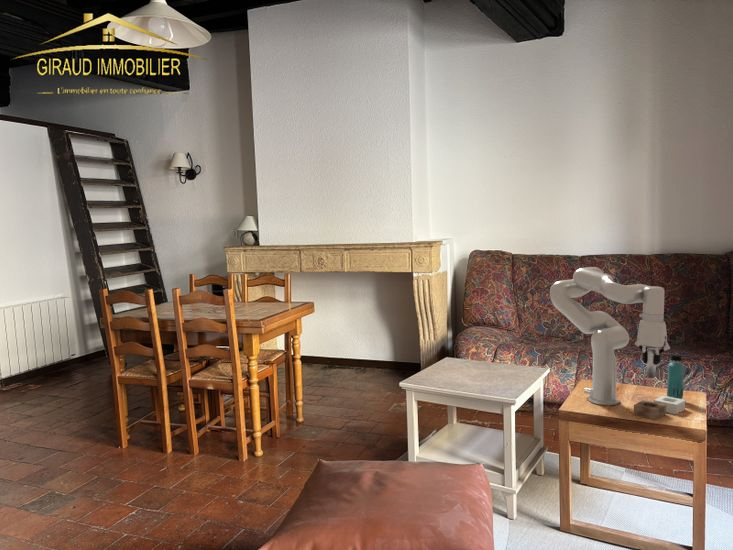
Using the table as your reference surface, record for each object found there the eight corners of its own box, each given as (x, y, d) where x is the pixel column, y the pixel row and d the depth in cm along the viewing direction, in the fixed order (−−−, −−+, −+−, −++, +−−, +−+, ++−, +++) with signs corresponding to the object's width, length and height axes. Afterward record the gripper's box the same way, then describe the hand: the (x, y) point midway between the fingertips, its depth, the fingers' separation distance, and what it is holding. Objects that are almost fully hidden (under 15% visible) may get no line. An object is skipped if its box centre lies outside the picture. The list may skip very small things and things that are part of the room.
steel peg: (644, 376, 244) (645, 349, 243) (648, 374, 247) (649, 347, 246) (653, 377, 242) (654, 350, 241) (657, 376, 244) (658, 349, 243)
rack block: (653, 409, 252) (653, 400, 251) (662, 404, 258) (662, 395, 258) (676, 414, 245) (676, 404, 245) (684, 409, 251) (685, 399, 251)
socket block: (633, 414, 246) (633, 404, 245) (643, 409, 252) (643, 400, 252) (656, 419, 239) (656, 409, 239) (665, 414, 245) (666, 404, 245)
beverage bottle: (671, 403, 260) (672, 356, 258) (663, 398, 266) (664, 353, 265) (686, 402, 260) (688, 356, 258) (677, 398, 267) (679, 353, 265)
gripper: (628, 316, 245) (626, 361, 247) (671, 321, 233) (669, 368, 235) (636, 314, 250) (634, 358, 252) (678, 319, 238) (676, 365, 240)
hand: (651, 362), depth 244 cm, fingers closed on steel peg, 3 cm apart
